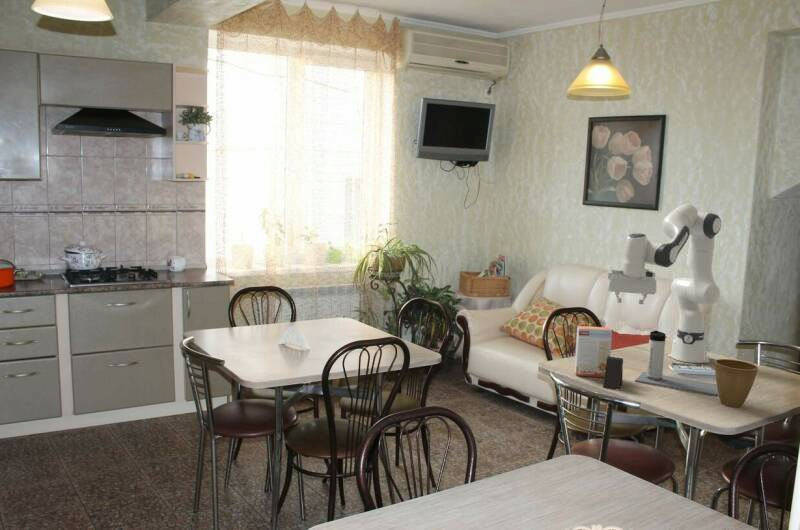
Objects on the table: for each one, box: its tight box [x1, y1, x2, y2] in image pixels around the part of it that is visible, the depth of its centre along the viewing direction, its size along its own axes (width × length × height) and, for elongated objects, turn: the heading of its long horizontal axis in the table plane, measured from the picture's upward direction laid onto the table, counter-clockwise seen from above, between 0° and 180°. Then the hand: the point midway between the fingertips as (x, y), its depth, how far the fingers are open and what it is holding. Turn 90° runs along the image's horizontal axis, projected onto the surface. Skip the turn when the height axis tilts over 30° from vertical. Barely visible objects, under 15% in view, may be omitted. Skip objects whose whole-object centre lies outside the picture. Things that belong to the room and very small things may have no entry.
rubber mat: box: [635, 371, 719, 397], centre depth 294 cm, size 16×32×1 cm, turn 59°
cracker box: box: [573, 325, 613, 378], centre depth 301 cm, size 14×6×21 cm, turn 84°
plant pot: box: [714, 358, 759, 408], centre depth 268 cm, size 15×15×16 cm
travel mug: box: [646, 330, 666, 380], centre depth 298 cm, size 6×7×20 cm
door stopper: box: [602, 355, 624, 390], centre depth 286 cm, size 9×6×12 cm, turn 152°
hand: (629, 303), depth 302 cm, fingers open, 8 cm apart
